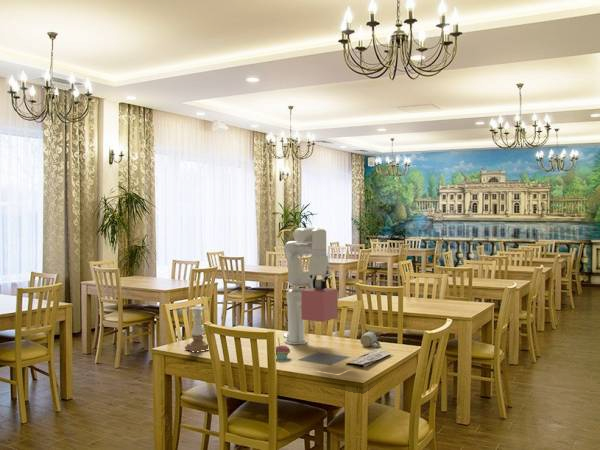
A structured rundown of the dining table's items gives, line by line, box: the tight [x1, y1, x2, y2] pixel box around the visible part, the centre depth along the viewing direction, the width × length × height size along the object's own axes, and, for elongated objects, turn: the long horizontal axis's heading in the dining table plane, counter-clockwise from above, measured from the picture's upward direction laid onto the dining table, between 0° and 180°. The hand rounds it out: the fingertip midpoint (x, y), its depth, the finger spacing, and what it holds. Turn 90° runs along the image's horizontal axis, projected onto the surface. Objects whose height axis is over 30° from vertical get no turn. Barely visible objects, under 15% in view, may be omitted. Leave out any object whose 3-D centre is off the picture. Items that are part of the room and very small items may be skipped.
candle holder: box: [184, 305, 209, 352], centre depth 330 cm, size 11×11×24 cm
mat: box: [297, 352, 350, 366], centre depth 304 cm, size 20×20×1 cm
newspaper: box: [345, 349, 392, 369], centre depth 301 cm, size 35×12×4 cm, turn 150°
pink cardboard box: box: [300, 279, 339, 323], centre depth 304 cm, size 13×14×20 cm
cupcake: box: [275, 337, 291, 360], centre depth 306 cm, size 9×8×12 cm
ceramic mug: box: [359, 331, 381, 348], centre depth 335 cm, size 11×8×8 cm
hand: (319, 287), depth 304 cm, fingers closed on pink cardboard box, 4 cm apart
